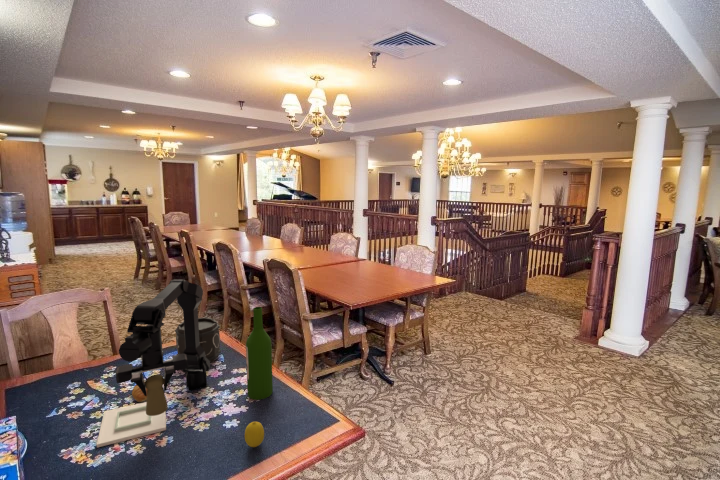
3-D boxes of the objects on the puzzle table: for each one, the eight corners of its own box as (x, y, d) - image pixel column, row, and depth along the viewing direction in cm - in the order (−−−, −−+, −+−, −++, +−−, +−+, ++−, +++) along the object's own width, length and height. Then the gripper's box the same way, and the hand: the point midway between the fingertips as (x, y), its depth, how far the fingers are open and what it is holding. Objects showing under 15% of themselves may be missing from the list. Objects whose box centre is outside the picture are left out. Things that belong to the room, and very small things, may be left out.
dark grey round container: (230, 352, 173) (229, 319, 171) (201, 370, 157) (199, 334, 154) (199, 346, 180) (197, 314, 177) (167, 363, 163) (165, 327, 161)
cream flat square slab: (165, 400, 136) (164, 395, 135) (166, 429, 120) (165, 424, 120) (104, 414, 127) (104, 408, 127) (96, 447, 112) (96, 441, 111)
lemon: (247, 441, 115) (246, 416, 114) (265, 440, 116) (265, 415, 114) (243, 454, 110) (242, 428, 109) (262, 453, 110) (262, 427, 109)
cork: (159, 417, 115) (156, 383, 113) (141, 414, 116) (138, 381, 114) (172, 405, 121) (169, 372, 119) (155, 403, 122) (152, 370, 120)
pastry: (155, 399, 136) (154, 389, 136) (133, 406, 133) (132, 395, 132) (152, 387, 144) (151, 378, 143) (131, 393, 140) (130, 383, 140)
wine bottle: (247, 388, 144) (244, 305, 139) (271, 385, 147) (269, 303, 141) (248, 401, 135) (244, 313, 130) (273, 397, 138) (271, 310, 133)
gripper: (183, 329, 126) (186, 373, 129) (116, 341, 117) (121, 388, 120) (186, 343, 117) (189, 390, 119) (113, 356, 108) (119, 407, 110)
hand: (155, 393), depth 117 cm, fingers closed on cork, 5 cm apart
